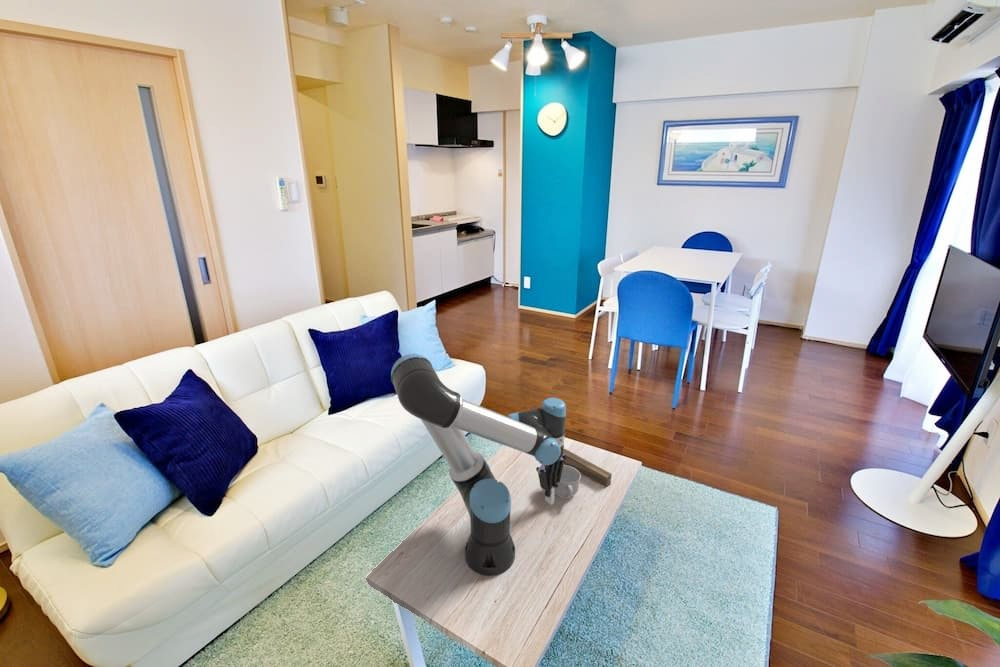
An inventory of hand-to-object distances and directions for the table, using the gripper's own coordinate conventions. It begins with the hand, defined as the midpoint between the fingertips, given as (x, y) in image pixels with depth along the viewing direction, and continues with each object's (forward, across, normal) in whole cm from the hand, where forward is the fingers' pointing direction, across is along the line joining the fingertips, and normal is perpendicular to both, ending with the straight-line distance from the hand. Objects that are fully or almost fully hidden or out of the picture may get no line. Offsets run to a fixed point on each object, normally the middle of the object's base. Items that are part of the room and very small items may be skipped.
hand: (549, 502), depth 161 cm
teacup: (+2, +8, 0) cm, 9 cm away
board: (+2, +24, +3) cm, 24 cm away
